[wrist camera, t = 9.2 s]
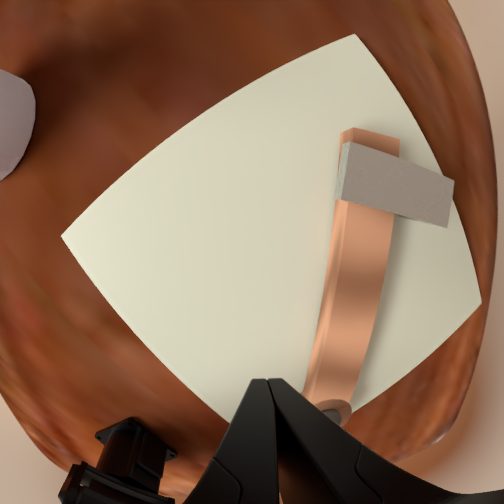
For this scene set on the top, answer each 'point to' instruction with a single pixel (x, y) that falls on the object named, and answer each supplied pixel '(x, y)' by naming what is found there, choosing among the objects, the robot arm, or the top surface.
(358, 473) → the robot arm
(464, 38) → the top surface
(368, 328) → the link
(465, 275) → the base board
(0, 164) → the soap bottle
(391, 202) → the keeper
